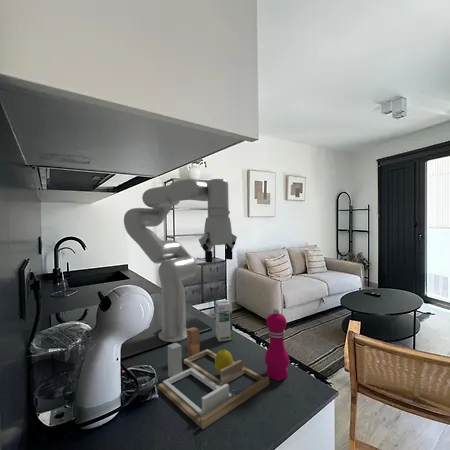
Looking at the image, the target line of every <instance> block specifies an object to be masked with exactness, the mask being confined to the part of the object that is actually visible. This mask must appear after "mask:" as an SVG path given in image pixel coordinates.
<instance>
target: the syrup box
mask: <svg viewBox="0 0 450 450" xmlns="http://www.w3.org/2000/svg"><path fill="white" fill-rule="evenodd" d="M214 307H215V308H214V310H215V311H214V313H215V315H214V316H215V318H214V319H215V337H216V339H217V340H218V342H219V343H220V342H227V341H233V340H234V339H233V338H234V337H233V335H234V334H233V303H232V302H231V301H230V300H229V299H225V300H216V301H214Z"/></svg>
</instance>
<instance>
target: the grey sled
mask: <svg viewBox="0 0 450 450" xmlns="http://www.w3.org/2000/svg"><path fill="white" fill-rule="evenodd" d="M182 347H183V346H182V345H181V344H179V343H178V342H172V343H171V344H168V345H167V377H169V378H167V379H164V380H162V384H163V385H164V386H166V387H167V388H168V389H169V390H170V391H171V392H172V393H174V394H175V395H176V396H177V397H178V398H179V399H180V400H182V401H183V402H184V403H185V404H186V405H187V406H188V407H190V408H191V409H192V410H193V411H194V412H195V413H197V414H198V415H199V416H200V417H201V418H202V417H203V416H205V415H206V414H208V413H209V412H211V411H212V410H214V409H216V408H217V407H219V406H220V405H222V404H223V403H225V402H227V401H228V400H230V399H231V398H232V395H231V394H230V393H231V392H230V385H229V383H227V384H224V385H223V386H221V387H219V386H218V385H217V384H215V383H214V382H212V381H211V380H209V379H208V378H206V377H205V376H203V375H202V374H200V373H199V372H197V371H196V370H194V369H193V368H190V367H189V368H188V369H186V370H183V362H182V361H183V359H182V358H183V356H182V355H183V354H182V353H183V352H182ZM190 375H191V376H193V377H194V378H196V379H197V380H198V381H200V382H201V383H203V384H204V385H206V386H207V387H209V388H210V389H211V390H212V391H211V392H209V393H207V394H205V395H204V396H202V397H201V408H200V406H198V405H197V404H195V402H193V401H192V400H190V398H188V397H187V396H186V395H185V394H184V393H182V392H181V391H180V390H179V389H177V388H176V387H175V385H172V384H173V383H176V382H178V381H180V380H182V379H184V378H186V377H189V376H190ZM229 392H230V393H229Z"/></svg>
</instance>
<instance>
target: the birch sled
mask: <svg viewBox="0 0 450 450" xmlns="http://www.w3.org/2000/svg"><path fill="white" fill-rule="evenodd" d="M186 345H187V346H186V348H187V350H186V351H187V352H186V353H187V357H186V358H184V359H183V364H185V365H186V366H188V367H189V369H190V368H195V369H196V370H198V371H199V372H201V373H202V374H204V375H205V376H207V377H208V378H210V379H211V380H213V381H214V382H215V383H217V384H218V385H220V386H223V385H224V384H229V383H230V382H232V381H234V380H236V379H238V378H239V377H241V376H243V375H244V374H245V369H243V368H242V366H243V360H241V359H238V360H236V361H235V362H234V363H232V364H230V365H228V366H227V367H225V368H223V369H221V370H220V374H219V378H217V377H216V376H215V375H213V374H211V373H209V372H208V371H207V370H205V369H204V368H202V367H200V366H199V365H197V364H196V363H194V361H196V360H198V359H200V358H202V357H205V356H209V357H211V358H212V359H214V360H215V357H216V355H217V353H215V352H214V351H212V350H210V349H208V348H207V349H205V350H202V351H201V350H200V348H201V347H200V329H199V328H197V327H190V328H187V338H186Z"/></svg>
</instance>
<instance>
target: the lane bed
mask: <svg viewBox="0 0 450 450" xmlns="http://www.w3.org/2000/svg"><path fill="white" fill-rule="evenodd" d="M234 362H236V361H234V360H233V363H234ZM242 368H243V369H245V373H244V374H245V375H247V376H249V377H250V378H251V379H253V380H256V382H255V383H253V384H252V385H250V386H249V387H247V388H245V389H244V390H242V391H241V392H239V393H237V394H236V395H235V394H233V393H232V392H231V391H229V393H230V394H231V395H232V398H231V399H230V400H228V401H227V402H225V403H223V404H222V405H220V406H219V407H217V408H216V409H214V410H212V411H211V412H209V413H208V414H206V415H205V416H203V417H202V418H201V417H200V416H199V415H198V414H197V413H195V412H194V411H193V410H192V409H191V408H190V407H188V406H187V405H186V404H185V403H184V402H183V401H182V400H180V399H179V398H178V397H177V396H176V395H175V394H174V393H172V392H171V391H170V390H169V389H168V388H167V387H166V386H164V385H163V382H160V383H158V384H157V385H158V386H157V387H158V389H159V391H160V392H161V393H163V394H164V395H165V396H166V398H167V399H169V400H170V401H171V402H172V403H174V404H175V406H177V407H178V408H179V409H180V410H181V411H182V412H183V413H184V414H185V415H186V416H188V418H190V419H191V420H192V421H193V422H194V423H195V424H196V425H197V426H198V427H199V428H200V429H201V430H204V429H207V428H208V427H209V426H210V425H211V424H214V423H215V422H216V421H218V420H220V419H221V418H222V417H224V416H225V415H226V414H229V412H231V411H233V410H234V409H235V408H237V407H239V405H242V404H243V403H244V402H246V401H247V400H248V399H250V398H251V397H253V396H255V395H256V394H258V393H259V392H261V391H262V390H264V389H265V388H266V387H268V386H269V385H270V377H268V375H265V376H262V375H260V374H259V373H257V372H255V371H253V370H251V369H250V368H247V367H246V366H244V365H242ZM193 369H194V370H196V369H195V368H193ZM196 371H197V372H199V371H198V370H196ZM199 373H200V374H202V373H201V372H199ZM202 375H203V376H205V375H204V374H202ZM205 377H206V378H208V377H207V376H205ZM208 379H209V380H211V379H210V378H208ZM211 381H212V382H214V381H213V380H211ZM214 383H215V382H214ZM215 384H217V383H215ZM217 385H218V384H217ZM218 386H219V387H221V386H220V385H218Z"/></svg>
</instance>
